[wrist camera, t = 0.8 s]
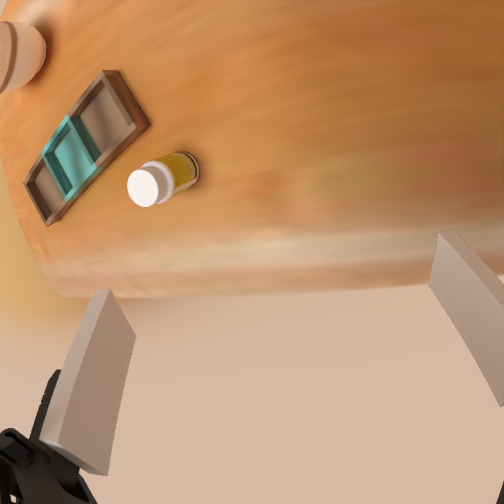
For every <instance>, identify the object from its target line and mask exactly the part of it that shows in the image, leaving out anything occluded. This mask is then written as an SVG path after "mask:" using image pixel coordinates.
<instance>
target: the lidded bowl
mask: <svg viewBox="0 0 504 504" xmlns="http://www.w3.org/2000/svg"><path fill="white" fill-rule="evenodd" d="M46 50H47V48H46V42H45V40H44V38H43V37H42V36H41V34H40V32H39V31H38V30H37V29H36V28H35V27H33V26H31V25H28V24H25V23H20V22H7V21H5V22H0V95H1V94H5V93H9V92H12V91H14V90H17V89H19V88H21V87H23V86H24V85H26V84H27V83H28V82H29V81H30V80H31V79H32V78H33V77H34V76H35V74H37V73H38V72H39V71H40V69H41V68H42V66H43V64H44V61H45V57H46Z"/></svg>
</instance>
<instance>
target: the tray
mask: <svg viewBox="0 0 504 504" xmlns="http://www.w3.org/2000/svg"><path fill="white" fill-rule="evenodd" d="M150 125H151V124H150V123H149V121H148V119H147V118H146V116H145V115H144V113H143V111H142V110H141V108H140V107H139V105H138V103H137V102H136V100H135V98H134V97H133V95H132V94H131V92H130V90H129V89H128V87H127V85H126V84H125V82H124V80H123V79H122V77H121V76H120V74H119V72H118V71H117V70H102V71H101V72H100V74H99V75H98V76H97V77H96V78H95V79H94V81H93V82H92V83H91V84H90V85H89V87H88V88H87V89H86V90H85V92H84V93H83V94H82V95H81V97H80V98H79V99H78V100H77V102H76V103H75V104H74V106H73V107H72V108H71V110H70V111H69V112H68V114H67V115H66V116H65V118H64V119H63V121H62V122H61V123H60V125H59V126H58V128H57V129H56V131H55V132H54V133H53V135H52V136H51V138H50V139H49V141H48V142H47V144H46V145H45V147H44V149H43V150H42V152H41V153H40V155H39V157H38V158H37V160H36V161H35V163H34V165H33V166H32V168H31V170H30V171H29V173H28V175H27V177H26V178H25V180H24V182H23V184H24V186H25V188H26V190H27V192H28V194H29V196H30V198H31V199H32V201H33V203H34V205H35V207H36V209H37V211H38V213H39V214H40V216H41V218H42V220H43V222H44V223H45V225H46V227H48V226H50V225H52V224H54V223H56V222H57V221H59V220H60V219H61V217H62V216H63V215H64V214H65V213H66V212H67V210H68V209H69V208H70V207H71V206H72V205H73V203H74V202H75V201H76V200H77V199H78V198H79V197H80V195H81V194H82V193H83V192H84V191H85V190H86V189H87V188H88V187H89V185H90V184H91V183H92V182H93V181H94V180H95V179H96V178H97V177H98V176H99V175H100V174H101V173H102V172H103V171H104V170H105V169H106V168H107V167H108V165H109V164H110V163H111V162H112V161H113V160H114V159H115V158H116V157H117V156H118V155H119V154H120V153H122V152H123V151H124V150H125V149H126V148H127V147H128V146H129V145H130V144H131V143H132V142H133V141H134V140H135V139H136V138H137V137H138V136H139V135H140V134H142V133H143V132H144V131H145V130H146V129H147V128H148V127H149V126H150Z"/></svg>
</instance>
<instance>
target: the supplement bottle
mask: <svg viewBox="0 0 504 504" xmlns="http://www.w3.org/2000/svg"><path fill="white" fill-rule="evenodd" d="M198 175H199V168H198V164H197V162H196V160H195V159H194V158H193V157H192V156H191V155H190V154H188V153H186V152H175V153H172V154H169V155H166V156H163V157H160V158H157V159H154V160H151V161H149V162H147V163H145V164H144V165H143V166H142V167H141V168H139V169H138V170H136V171H134V172H133V173H132V174H131V175H130V176H129V179H128V183H127V187H128V192H129V195H130V197H131V198H132V200H133V201H134V202H135V203H136V204H138V205H140V206H143V207H149V206H151V205H153V204H156V203H157V204H158V203H163V202H166V201H167V200H169V199H171V198H173V197H174V196H176V195H178V194H180V193H181V192H183V191H185V190H187V189H189V188H190V187H192V186H193V185H194V184H195V183H196V181H197V179H198Z"/></svg>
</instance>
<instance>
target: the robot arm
mask: <svg viewBox="0 0 504 504" xmlns="http://www.w3.org/2000/svg"><path fill="white" fill-rule="evenodd" d="M429 287H430V288H431V290H432V291H433V293H434V294H435V296H436V297H437V299H438V300H439V301H440V303H441V305H442V306H443V308H444V309H445V311H446V312H447V314H448V316H449V317H450V319H451V320H452V322H453V324H454V325H455V327H456V328H457V330H458V331H459V333H460V334H461V336H462V338H463V340H464V341H465V343H466V345H467V347H468V348H469V350H470V352H471V353H472V355H473V357H474V359H475V361H476V362H477V364H478V366H479V368H480V370H481V371H482V373H483V375H484V377H485V379H486V380H487V382H488V384H489V386H490V388H491V390H492V392H493V394H494V396H495V398H496V400H497V402H498V404H499V406H500V407H501V406H503V405H504V284H503V283H502V282H501V281H500V280H499V279H498V277H497V276H496V275H495V274H494V273H493V272H492V270H491V269H490V268H489V267H488V266H487V265H486V264H485V263H484V261H483V260H482V259H481V258H480V257H479V256H478V255H477V254H476V253H475V252H474V251H473V250H472V249H471V247H470V246H469V245H468V244H467V243H466V242H465V241H464V240H463V239H462V238H461V237H460V236H459V235H458V234H457V233H456V232H455V231H454V230H449V231H443V232H439V233H438V239H437V245H436V251H435V256H434V262H433V267H432V272H431V276H430V281H429ZM135 339H136V334H135V333H134V331H133V329H132V328H131V326H130V324H129V322H128V321H127V319H126V317H125V315H124V313H123V312H122V310H121V308H120V306H119V304H118V303H117V301H116V299H115V297H114V295H113V293H112V291H111V289H106V290H99V291H95V292H94V294H93V296H92V298H91V300H90V303H89V305H88V307H87V309H86V311H85V314H84V316H83V318H82V320H81V323H80V325H79V327H78V330H77V332H76V334H75V337H74V340H73V342H72V344H71V347H70V349H69V352H68V354H67V357H66V360H65V362H64V365H63V368H62V370H56V371H55V372H54V374H53V375H52V377H51V378H50V379H49V381H48V384H47V386H46V389H45V392H44V393H45V395H43V397H42V400H41V405H40V406H39V409H38V412H37V415H36V418H35V422H34V425H33V428H32V431H31V434H30V437H29V440H28V439H27V438H25V437H24V436H23V435H22V434H20V433H19V432H18V431H17V430H15V429H13V428H8V429H5V430H4V431H2V432H1V433H0V504H97V502H96V500H95V498H94V497H93V495H92V493H91V491H90V490H89V488H88V486H87V484H86V482H85V481H84V479H83V477H82V476H81V475H80V474H79V470H80V468H81V469H83V470H84V471H86V472H88V473H90V474H95V475H102V476H108V469H109V463H110V457H111V451H112V445H113V440H114V434H115V429H116V423H117V418H118V413H119V408H120V403H121V399H122V394H123V389H124V385H125V380H126V376H127V372H128V367H129V363H130V359H131V355H132V351H133V347H134V343H135ZM10 494H11V495H13V496H15V497H16V503H14V502H12V501H11V496H10ZM496 504H504V482H503V485H502V488H501V491H500V495H499V497H498V500H497V503H496Z"/></svg>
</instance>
